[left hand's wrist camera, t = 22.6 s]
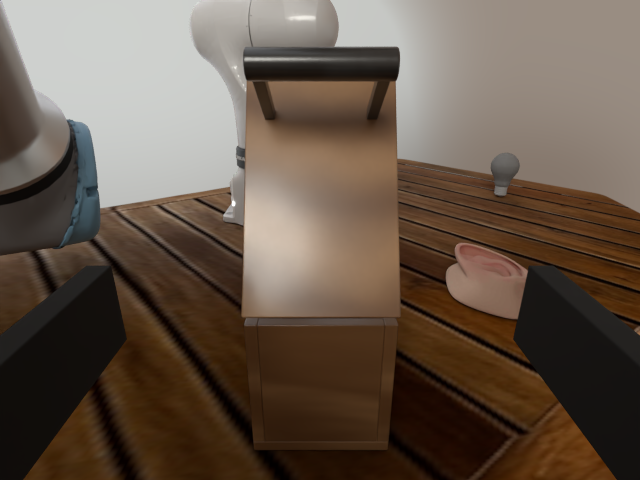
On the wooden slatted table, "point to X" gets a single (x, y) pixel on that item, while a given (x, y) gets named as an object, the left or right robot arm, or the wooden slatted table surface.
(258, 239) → the lid
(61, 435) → the wooden slatted table surface
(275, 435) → the chest
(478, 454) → the wooden slatted table surface
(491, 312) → the anatomical model
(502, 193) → the light bulb
